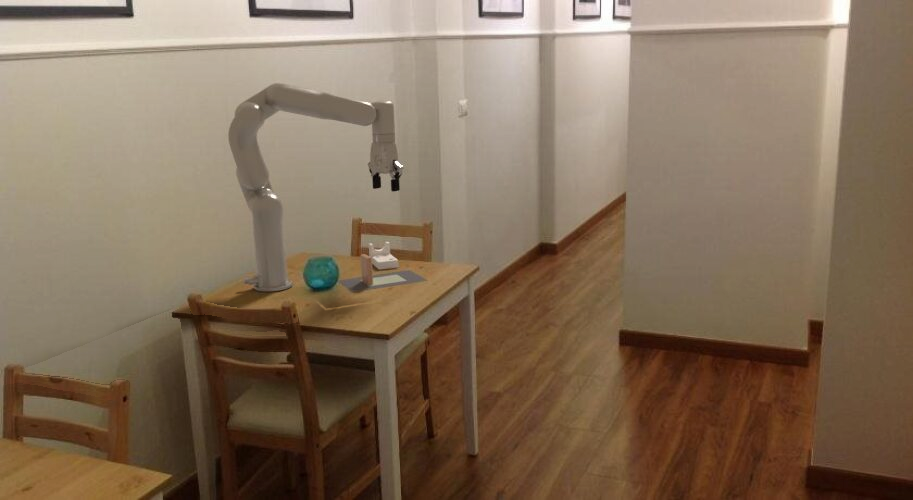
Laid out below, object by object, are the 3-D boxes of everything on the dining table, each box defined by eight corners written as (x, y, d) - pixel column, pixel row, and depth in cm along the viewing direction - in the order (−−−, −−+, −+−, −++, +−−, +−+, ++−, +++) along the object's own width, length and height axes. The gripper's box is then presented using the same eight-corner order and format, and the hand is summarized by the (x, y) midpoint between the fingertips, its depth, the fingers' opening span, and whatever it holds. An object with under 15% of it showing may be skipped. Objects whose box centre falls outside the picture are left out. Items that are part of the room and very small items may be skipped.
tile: (368, 285, 269) (366, 258, 267) (362, 280, 274) (360, 254, 272) (373, 284, 270) (371, 257, 268) (367, 280, 275) (365, 253, 273)
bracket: (369, 263, 300) (368, 243, 298) (388, 261, 302) (387, 241, 301) (379, 272, 288) (377, 251, 286) (398, 269, 290) (397, 248, 289)
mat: (352, 294, 262) (352, 292, 262) (337, 282, 276) (337, 280, 276) (427, 282, 272) (427, 280, 272) (409, 271, 286) (409, 269, 286)
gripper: (358, 138, 280) (361, 188, 284) (391, 141, 268) (394, 193, 272) (376, 136, 285) (378, 185, 289) (409, 139, 273) (411, 190, 277)
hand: (386, 189), depth 280 cm, fingers open, 9 cm apart
